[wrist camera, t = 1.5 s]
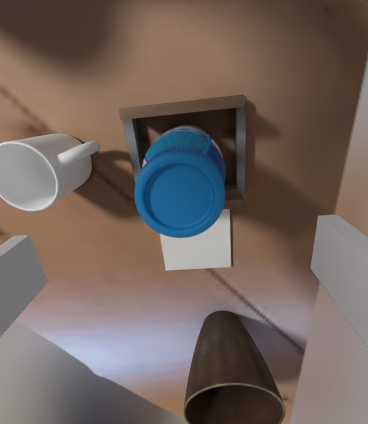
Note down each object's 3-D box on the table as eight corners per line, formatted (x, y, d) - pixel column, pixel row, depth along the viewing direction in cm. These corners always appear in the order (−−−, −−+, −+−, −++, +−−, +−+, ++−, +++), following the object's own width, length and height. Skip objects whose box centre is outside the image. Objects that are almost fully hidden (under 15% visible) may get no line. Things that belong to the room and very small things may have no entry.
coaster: (156, 210, 39) (156, 211, 38) (229, 204, 38) (229, 206, 37) (166, 268, 44) (165, 270, 43) (230, 264, 43) (230, 266, 42)
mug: (96, 112, 33) (56, 113, 24) (124, 165, 36) (98, 185, 27) (29, 146, 35) (-30, 159, 26) (61, 193, 38) (17, 220, 29)
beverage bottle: (185, 108, 32) (172, 107, 14) (227, 150, 34) (264, 196, 16) (148, 154, 35) (97, 202, 17) (189, 190, 37) (183, 268, 19)
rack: (125, 109, 33) (108, 109, 26) (242, 96, 31) (255, 93, 25) (141, 198, 38) (130, 216, 32) (242, 190, 37) (252, 207, 30)
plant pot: (273, 316, 47) (308, 408, 33) (230, 356, 53) (244, 450, 38) (212, 285, 45) (220, 370, 30) (174, 330, 50) (165, 420, 36)
